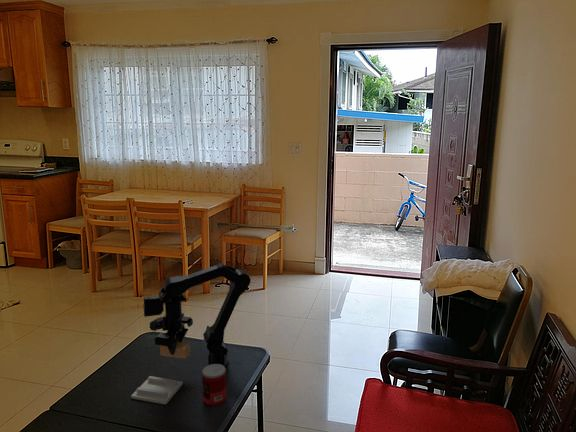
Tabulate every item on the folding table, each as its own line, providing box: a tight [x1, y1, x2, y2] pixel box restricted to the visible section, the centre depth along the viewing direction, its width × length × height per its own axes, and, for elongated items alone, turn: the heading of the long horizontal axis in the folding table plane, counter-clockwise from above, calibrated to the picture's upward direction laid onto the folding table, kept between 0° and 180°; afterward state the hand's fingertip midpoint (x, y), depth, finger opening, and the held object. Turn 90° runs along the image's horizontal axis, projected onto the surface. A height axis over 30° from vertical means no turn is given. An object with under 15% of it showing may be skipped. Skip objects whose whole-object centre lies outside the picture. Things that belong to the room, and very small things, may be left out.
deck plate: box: [130, 375, 184, 405], centre depth 158 cm, size 13×12×2 cm
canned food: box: [201, 364, 227, 407], centre depth 153 cm, size 8×8×11 cm
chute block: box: [159, 342, 191, 360], centre depth 167 cm, size 10×4×4 cm, turn 76°
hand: (175, 351), depth 167 cm, fingers closed on chute block, 4 cm apart
